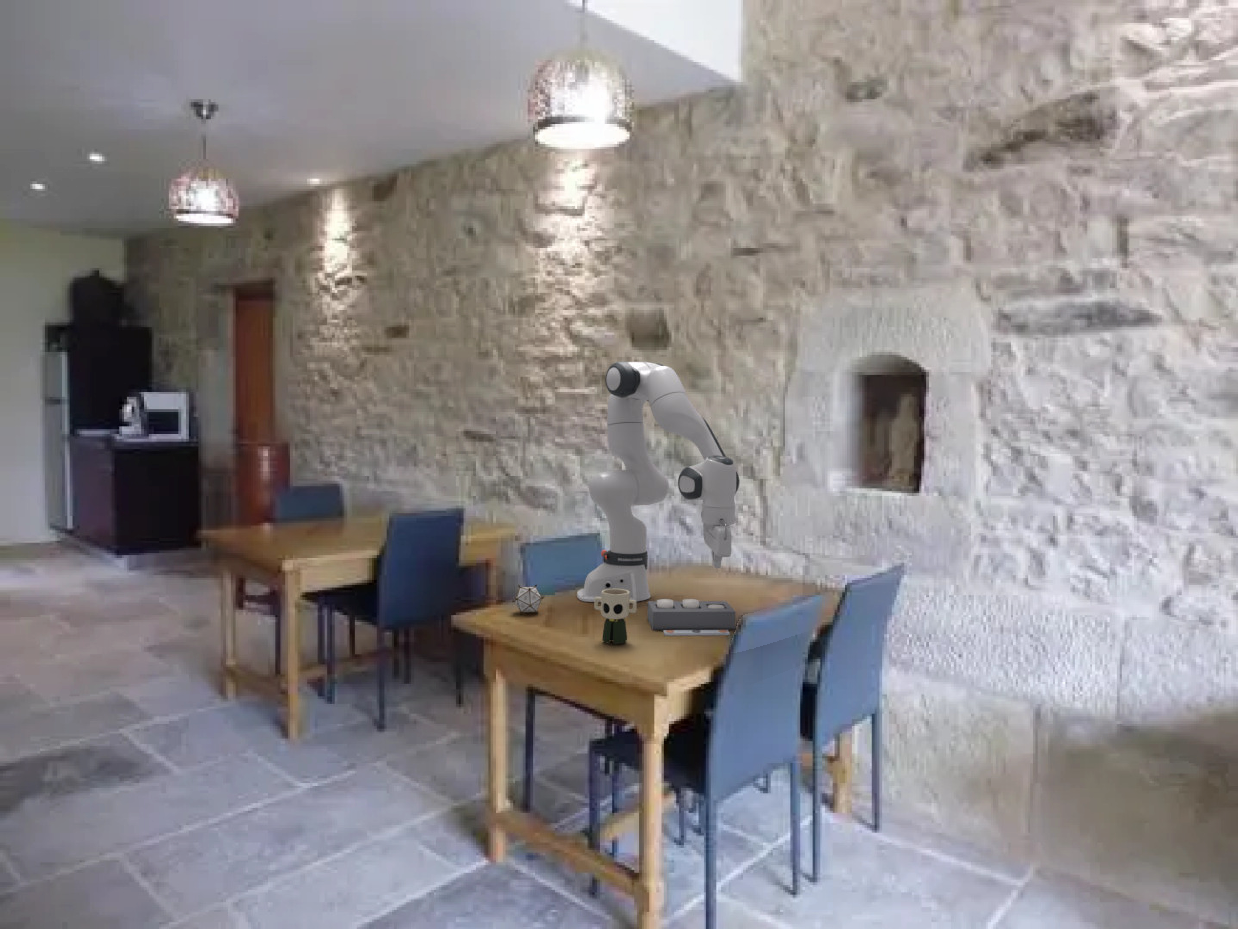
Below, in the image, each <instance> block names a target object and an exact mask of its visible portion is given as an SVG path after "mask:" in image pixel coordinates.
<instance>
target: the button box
mask: <svg viewBox="0 0 1238 929" xmlns="http://www.w3.org/2000/svg"><path fill="white" fill-rule="evenodd" d="M709 605H723V606H724V608H708V606H709ZM646 618H647V621H648V624H649V626H650V627H651V630H652V631H663V630H728V631H735V630H736V610H735V609H734V608H733V607H732V606H731V604H729V602H728V601H727V600H699V608H691V609H683V600H673V609H657V600H647V617H646ZM734 629H735V630H734Z"/></svg>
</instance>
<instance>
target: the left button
mask: <svg viewBox="0 0 1238 929" xmlns="http://www.w3.org/2000/svg"><path fill="white" fill-rule="evenodd" d="M656 601H657V609H673V601H674V600H673V599H669V598H661V599H657V600H656Z"/></svg>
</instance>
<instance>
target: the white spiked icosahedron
mask: <svg viewBox="0 0 1238 929" xmlns="http://www.w3.org/2000/svg"><path fill="white" fill-rule="evenodd" d="M537 586H538V584H535V585H534V586H520V585H519V584H518V586H517V587H518V590H517V594H516V597H514V599H513V600H511V602H512V603H515V605H516V607H517V608H518V610H519V613H518V615H519V614H520V615H522V613H535V614H537V615H539V612H538V610H539V607H540V604H541V601H542V600H543V599H545V597H544V596H542V595H541V594H540V592H539V591H538V589H537Z"/></svg>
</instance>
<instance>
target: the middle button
mask: <svg viewBox="0 0 1238 929" xmlns="http://www.w3.org/2000/svg"><path fill="white" fill-rule="evenodd" d="M682 601H683V609H691V608H699V601H700V600H699V599H695V598H685V599H682Z"/></svg>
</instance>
